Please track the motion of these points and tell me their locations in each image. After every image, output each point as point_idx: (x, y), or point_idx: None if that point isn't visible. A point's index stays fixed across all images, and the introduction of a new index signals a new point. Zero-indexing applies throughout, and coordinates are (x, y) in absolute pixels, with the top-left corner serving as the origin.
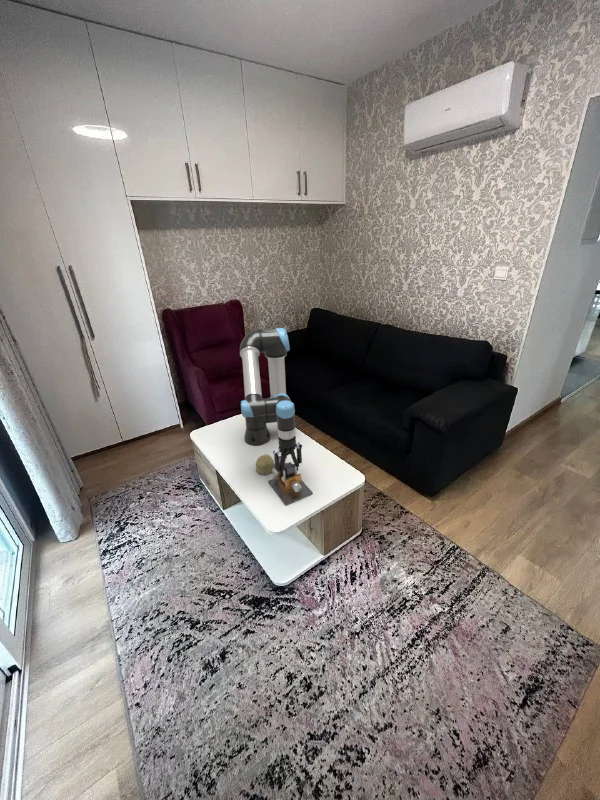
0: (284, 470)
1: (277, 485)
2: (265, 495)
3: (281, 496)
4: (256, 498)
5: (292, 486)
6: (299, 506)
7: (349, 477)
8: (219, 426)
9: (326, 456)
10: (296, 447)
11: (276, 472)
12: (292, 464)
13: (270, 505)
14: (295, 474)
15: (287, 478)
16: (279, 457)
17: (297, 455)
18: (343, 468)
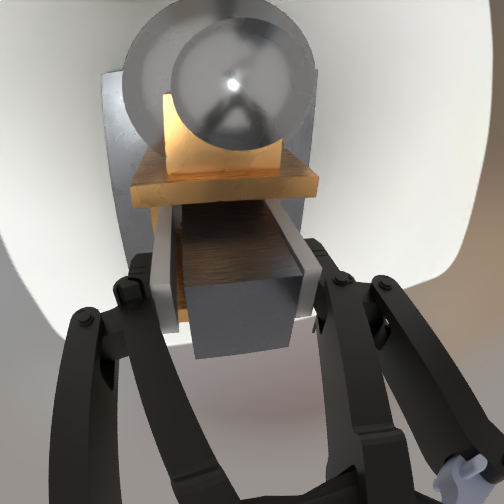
0: (175, 326)
1: (141, 145)
2: (57, 183)
3: (132, 245)
4: (14, 187)
5: None
6: None
7: (445, 249)
8: None
9: (487, 92)
10: (444, 480)
11: (144, 121)
12: (291, 318)
13: (70, 259)
14: None
15: (183, 310)
16: (238, 49)
17: (404, 357)
18: (471, 198)
